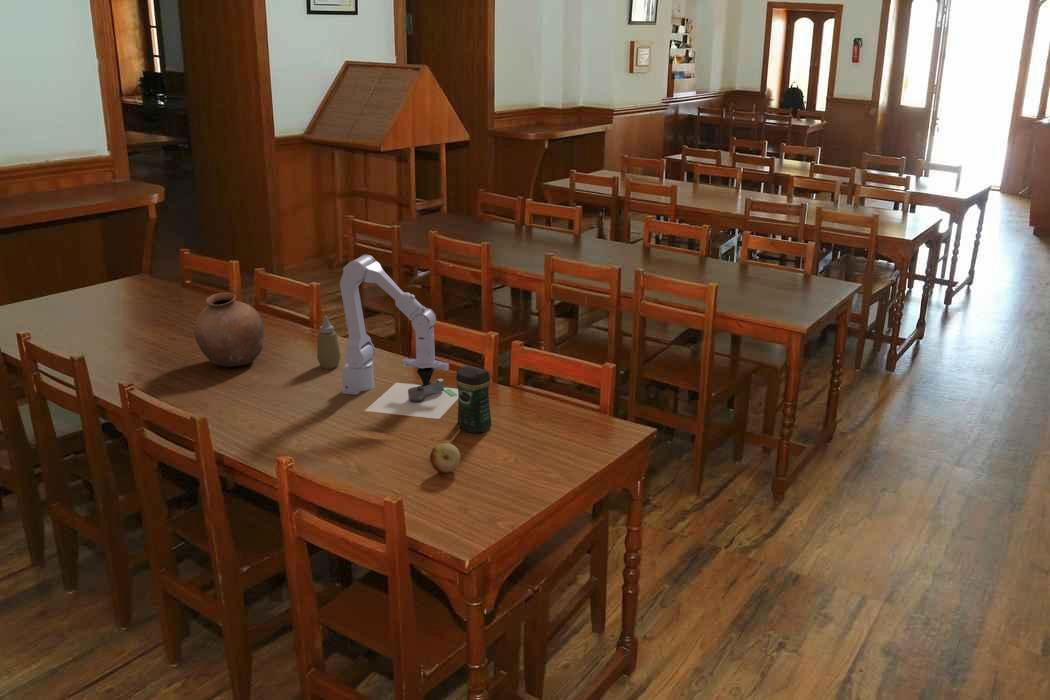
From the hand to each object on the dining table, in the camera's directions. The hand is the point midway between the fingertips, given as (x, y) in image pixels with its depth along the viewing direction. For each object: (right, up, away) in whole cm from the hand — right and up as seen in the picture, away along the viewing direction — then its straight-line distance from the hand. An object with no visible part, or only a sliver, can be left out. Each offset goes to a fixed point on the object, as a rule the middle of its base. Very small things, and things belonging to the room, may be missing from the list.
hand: (426, 389), depth 299 cm
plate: (-3, -4, -4) cm, 7 cm away
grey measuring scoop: (0, -2, -2) cm, 3 cm away
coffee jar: (+16, -10, -21) cm, 29 cm away
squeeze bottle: (-36, +7, +29) cm, 47 cm away
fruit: (+10, -20, -48) cm, 53 cm away
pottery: (-71, +7, +32) cm, 78 cm away
